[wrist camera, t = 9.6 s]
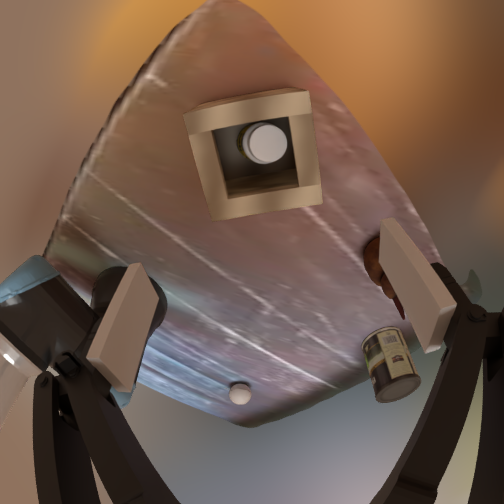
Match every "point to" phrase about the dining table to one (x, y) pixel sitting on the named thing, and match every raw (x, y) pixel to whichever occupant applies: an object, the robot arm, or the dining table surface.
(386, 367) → the coffee can
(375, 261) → the wooden figurine
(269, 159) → the supplement bottle
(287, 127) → the drop box
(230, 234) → the dining table surface
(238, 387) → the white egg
